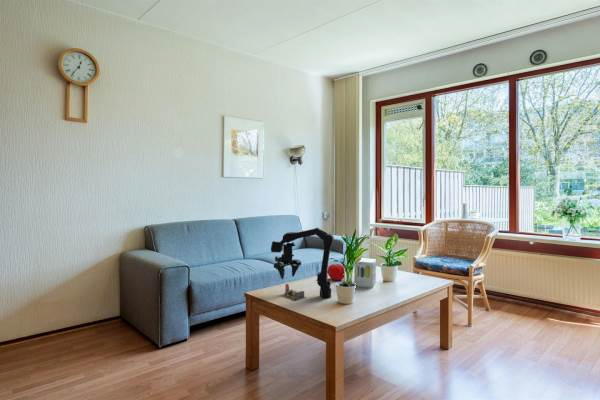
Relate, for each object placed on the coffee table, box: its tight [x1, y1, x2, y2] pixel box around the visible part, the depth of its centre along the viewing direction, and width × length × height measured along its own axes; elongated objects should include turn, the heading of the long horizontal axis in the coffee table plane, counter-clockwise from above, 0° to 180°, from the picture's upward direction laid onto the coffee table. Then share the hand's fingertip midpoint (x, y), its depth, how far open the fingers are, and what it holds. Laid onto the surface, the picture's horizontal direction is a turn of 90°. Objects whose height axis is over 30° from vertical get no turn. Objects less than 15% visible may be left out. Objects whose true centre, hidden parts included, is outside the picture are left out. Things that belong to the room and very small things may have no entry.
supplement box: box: [353, 257, 377, 289], centre depth 254 cm, size 13×13×18 cm
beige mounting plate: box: [278, 290, 307, 302], centre depth 223 cm, size 14×10×5 cm
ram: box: [284, 283, 295, 295], centre depth 226 cm, size 5×5×6 cm
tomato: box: [327, 263, 345, 281], centre depth 267 cm, size 12×13×12 cm
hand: (287, 277), depth 226 cm, fingers open, 9 cm apart
